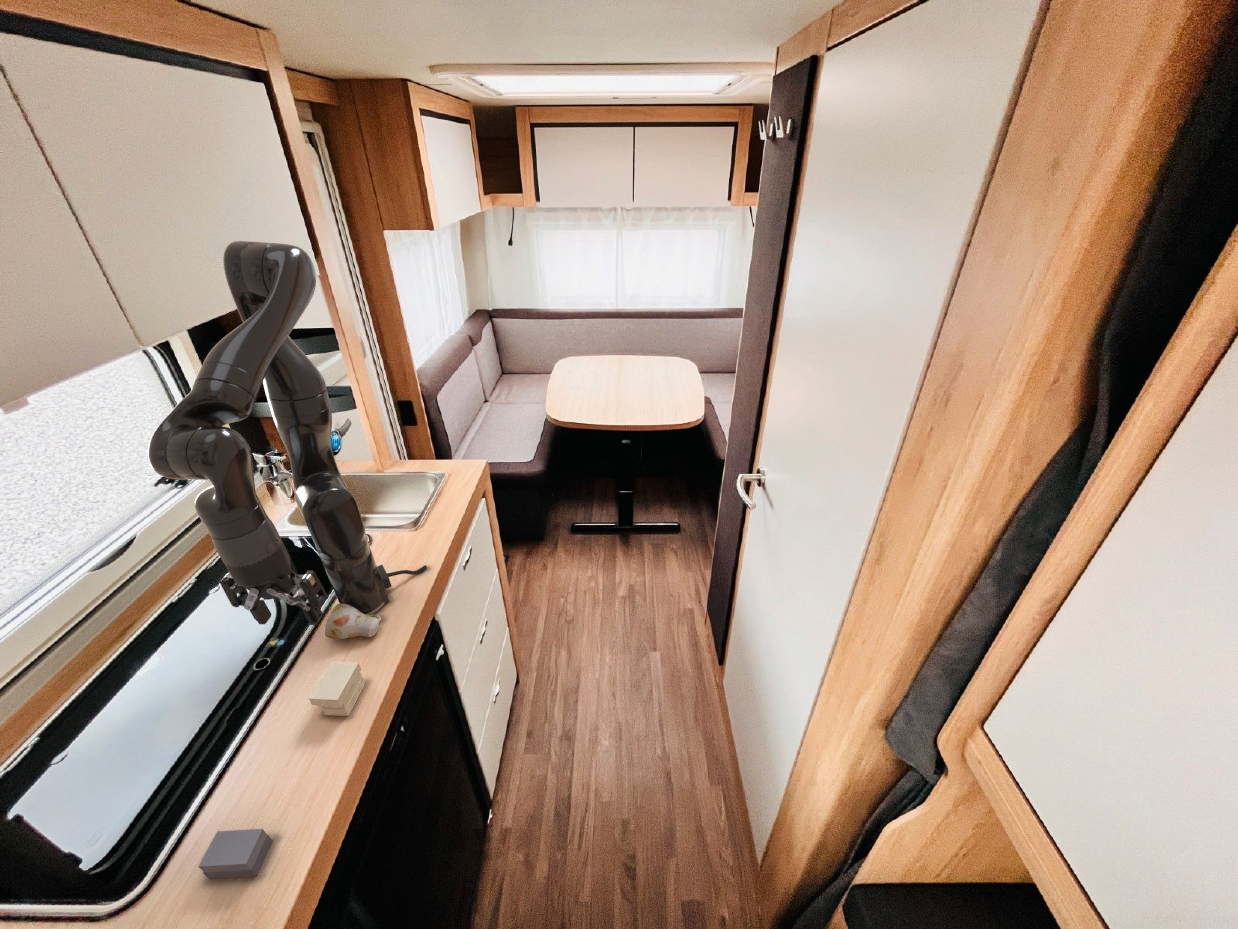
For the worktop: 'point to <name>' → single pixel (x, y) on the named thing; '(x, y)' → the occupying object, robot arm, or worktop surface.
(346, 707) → the white stack
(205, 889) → the worktop surface
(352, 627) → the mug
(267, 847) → the grey stack
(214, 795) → the worktop surface
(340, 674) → the white book
